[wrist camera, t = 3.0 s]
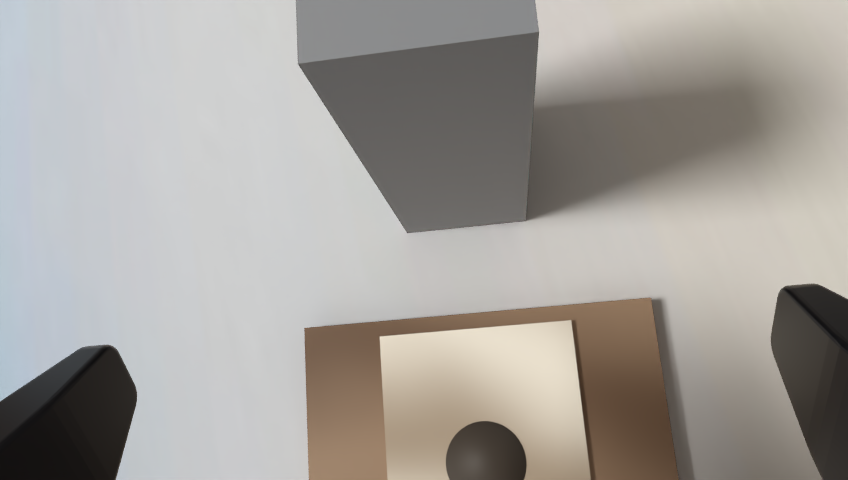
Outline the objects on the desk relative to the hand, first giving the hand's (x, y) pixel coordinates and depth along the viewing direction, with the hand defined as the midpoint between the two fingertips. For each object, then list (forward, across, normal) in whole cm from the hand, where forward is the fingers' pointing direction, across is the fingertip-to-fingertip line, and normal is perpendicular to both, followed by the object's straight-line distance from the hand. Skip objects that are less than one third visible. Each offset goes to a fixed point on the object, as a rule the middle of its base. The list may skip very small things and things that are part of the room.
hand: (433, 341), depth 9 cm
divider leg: (+14, 0, +4) cm, 15 cm away
